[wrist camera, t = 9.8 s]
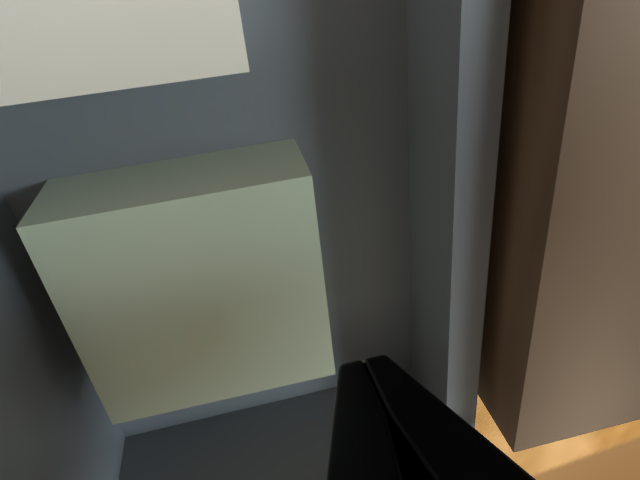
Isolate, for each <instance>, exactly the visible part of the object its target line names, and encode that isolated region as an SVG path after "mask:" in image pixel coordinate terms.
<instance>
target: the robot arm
mask: <svg viewBox="0 0 640 480" xmlns="http://www.w3.org/2000/svg"><path fill="white" fill-rule="evenodd" d="M327 480H535V479H534V478H533V477H532V476H531V475H529V474H528V473H527V472H526V471H525V470H523V469H522V468H521V467H520V466H519V465H517V464H516V463H515V462H514V461H513V460H511V459H510V458H509V457H508V456H507V455H505V454H504V453H503V452H502V451H501V450H499V449H498V448H497V447H496V446H495V445H493V444H492V443H491V442H490V441H489V440H487V439H486V438H485V437H484V436H483V435H481V434H480V433H479V432H478V431H477V430H476V429H474V428H473V427H472V426H471V425H470V424H468V423H467V422H466V421H465V420H464V419H462V418H461V417H460V416H459V415H458V414H456V413H455V412H454V411H453V410H452V409H450V408H449V407H448V406H447V405H446V404H444V403H443V402H442V401H441V400H440V399H438V398H437V397H436V396H435V395H434V394H432V393H431V392H430V391H429V390H428V389H426V388H425V387H424V386H423V385H422V384H420V383H419V382H418V381H417V380H416V379H414V378H413V377H412V376H411V375H410V374H408V373H407V372H406V371H405V370H404V369H402V368H401V367H400V366H399V365H398V364H396V363H395V362H394V361H393V360H392V359H390V358H389V357H388V356H386V355H378V356H374V357H369V358H366V359H364V360H363V362H362V361H360V360H357V361H352V362H348V363H344V364H341V365H340V366H339V369H338V378H337V387H336V396H335V406H334V415H333V424H332V434H331V443H330V452H329V462H328V471H327Z"/></svg>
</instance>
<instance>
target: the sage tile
mask: <svg viewBox="0 0 640 480" xmlns="http://www.w3.org/2000/svg"><path fill="white" fill-rule="evenodd" d="M16 230H17V232H18V234H19V236H20V238H21V240H22V242H23V244H24V246H25V248H26V250H27V252H28V254H29V256H30V258H31V260H32V262H33V264H34V266H35V268H36V270H37V272H38V274H39V276H40V278H41V280H42V282H43V284H44V286H45V289H46V291H47V293H48V295H49V297H50V299H51V301H52V303H53V305H54V307H55V309H56V311H57V313H58V315H59V317H60V319H61V321H62V323H63V325H64V327H65V329H66V331H67V333H68V335H69V337H70V339H71V341H72V343H73V345H74V347H75V349H76V351H77V353H78V355H79V357H80V359H81V362H82V364H83V366H84V368H85V370H86V372H87V374H88V376H89V378H90V380H91V382H92V384H93V386H94V388H95V390H96V392H97V394H98V396H99V398H100V400H101V402H102V404H103V406H104V408H105V410H106V412H107V414H108V416H109V418H110V420H111V422H112V424H113V425H114V424H119V423H123V422H127V421H132V420H136V419H141V418H145V417H149V416H154V415H158V414H163V413H167V412H171V411H176V410H180V409H185V408H189V407H193V406H198V405H202V404H207V403H211V402H215V401H220V400H224V399H229V398H233V397H237V396H242V395H246V394H251V393H255V392H259V391H264V390H268V389H273V388H277V387H281V386H286V385H290V384H295V383H299V382H303V381H308V380H312V379H317V378H321V377H325V376H330V375H334V374H336V373H335V365H334V356H333V348H332V340H331V331H330V323H329V314H328V306H327V298H326V289H325V281H324V272H323V264H322V256H321V247H320V239H319V230H318V222H317V214H316V205H315V197H314V188H313V180H312V175H311V172H310V170H309V168H308V166H307V164H306V162H305V160H304V158H303V155H302V153H301V151H300V149H299V147H298V145H297V143H296V141H295V139H294V138H293V139H287V140H281V141H275V142H269V143H263V144H258V145H252V146H246V147H240V148H234V149H228V150H222V151H216V152H210V153H204V154H198V155H192V156H186V157H180V158H174V159H168V160H162V161H156V162H150V163H145V164H139V165H133V166H127V167H121V168H115V169H109V170H103V171H97V172H91V173H85V174H79V175H73V176H67V177H61V178H55V179H49V180H47V182H46V183H45V185H44V186H43V188H42V189H41V191H40V192H39V194H38V195H37V197H36V198H35V200H34V201H33V203H32V204H31V206H30V207H29V209H28V210H27V212H26V213H25V215H24V216H23V218H22V219H21V221H20V222H19V224H18V226H17V227H16Z"/></svg>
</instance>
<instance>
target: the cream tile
mask: <svg viewBox="0 0 640 480" xmlns="http://www.w3.org/2000/svg"><path fill="white" fill-rule="evenodd" d="M245 72H250V71H249V65H248V58H247V52H246V46H245V40H244V34H243V27H242V21H241V15H240V9H239V2H238V0H0V107H1V106H9V105H16V104H23V103H30V102H37V101H44V100H52V99H59V98H66V97H73V96H80V95H87V94H95V93H102V92H109V91H116V90H123V89H130V88H138V87H145V86H152V85H159V84H166V83H173V82H181V81H188V80H195V79H202V78H209V77H216V76H224V75H231V74H238V73H245Z"/></svg>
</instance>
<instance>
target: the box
mask: <svg viewBox="0 0 640 480" xmlns="http://www.w3.org/2000/svg"><path fill="white" fill-rule="evenodd" d="M238 2H239V9H240V15H241V21H242V27H243V34H244V40H245V46H246V52H247V58H248V65H249V71H250V72H245V73H238V74H231V75H224V76H216V77H209V78H202V79H195V80H188V81H181V82H173V83H166V84H159V85H152V86H145V87H138V88H130V89H123V90H116V91H109V92H102V93H95V94H87V95H80V96H73V97H66V98H59V99H52V100H44V101H37V102H30V103H23V104H16V105H9V106H1V107H0V480H327V471H328V462H329V452H330V443H331V434H332V424H333V415H334V406H335V396H336V387H337V378H338V369H339V366H340V365H341V364H344V363H348V362H352V361H357V360H360V361H362V362H363V360H364V359H366V358H369V357H374V356H378V355H386V356H388V357H389V358H390V359H392V360H393V361H394V362H395V363H396V364H398V365H399V366H400V367H401V368H402V369H404V370H405V371H406V372H407V373H408V374H410V375H411V376H412V377H413V378H414V379H416V380H417V381H418V382H419V383H420V384H422V385H423V386H424V387H425V388H426V389H428V390H429V391H430V392H431V393H432V394H434V395H435V396H436V397H437V398H438V399H440V400H441V401H442V402H443V403H444V404H446V405H447V406H448V407H449V408H450V409H452V410H453V411H454V412H455V413H456V414H458V415H459V416H460V417H461V418H462V419H464V420H465V421H466V422H467V423H468V424H470V425H471V426H472V427H473V428H474V429H475V418H476V406H477V394H478V383H479V371H480V359H481V347H482V336H483V324H484V312H485V301H486V289H487V277H488V266H489V254H490V242H491V230H492V219H493V207H494V195H495V184H496V172H497V160H498V149H499V137H500V125H501V113H502V102H503V90H504V78H505V67H506V55H507V43H508V32H509V20H510V8H511V0H238ZM293 138H294V139H295V141H296V143H297V145H298V147H299V149H300V151H301V153H302V155H303V158H304V160H305V162H306V164H307V166H308V168H309V170H310V172H311V175H312V180H313V188H314V197H315V205H316V214H317V222H318V230H319V239H320V247H321V256H322V264H323V272H324V281H325V289H326V298H327V306H328V314H329V323H330V331H331V340H332V348H333V356H334V365H335V373H336V374H334V375H330V376H325V377H321V378H317V379H312V380H308V381H303V382H299V383H295V384H290V385H286V386H281V387H277V388H273V389H268V390H264V391H259V392H255V393H251V394H246V395H242V396H237V397H233V398H229V399H224V400H220V401H215V402H211V403H207V404H202V405H198V406H193V407H189V408H185V409H180V410H176V411H171V412H167V413H163V414H158V415H154V416H149V417H145V418H141V419H136V420H132V421H127V422H123V423H119V424H114V425H113V424H112V422H111V420H110V418H109V416H108V414H107V412H106V410H105V408H104V406H103V404H102V402H101V400H100V398H99V396H98V394H97V392H96V390H95V388H94V386H93V384H92V382H91V380H90V378H89V376H88V374H87V372H86V370H85V368H84V366H83V364H82V362H81V359H80V357H79V355H78V353H77V351H76V349H75V347H74V345H73V343H72V341H71V339H70V337H69V335H68V333H67V331H66V329H65V327H64V325H63V323H62V321H61V319H60V317H59V315H58V313H57V311H56V309H55V307H54V305H53V303H52V301H51V299H50V297H49V295H48V293H47V291H46V289H45V286H44V284H43V282H42V280H41V278H40V276H39V274H38V272H37V270H36V268H35V266H34V264H33V262H32V260H31V258H30V256H29V254H28V252H27V250H26V248H25V246H24V244H23V242H22V240H21V238H20V236H19V234H18V232H17V230H16V227H17V226H18V224H19V222H20V221H21V219H22V218H23V216H24V215H25V213H26V212H27V210H28V209H29V207H30V206H31V204H32V203H33V201H34V200H35V198H36V197H37V195H38V194H39V192H40V191H41V189H42V188H43V186H44V185H45V183H46V182H47V180H49V179H55V178H61V177H67V176H73V175H79V174H85V173H91V172H97V171H103V170H109V169H115V168H121V167H127V166H133V165H139V164H145V163H150V162H156V161H162V160H168V159H174V158H180V157H186V156H192V155H198V154H204V153H210V152H216V151H222V150H228V149H234V148H240V147H246V146H252V145H258V144H263V143H269V142H275V141H281V140H287V139H293Z"/></svg>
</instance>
